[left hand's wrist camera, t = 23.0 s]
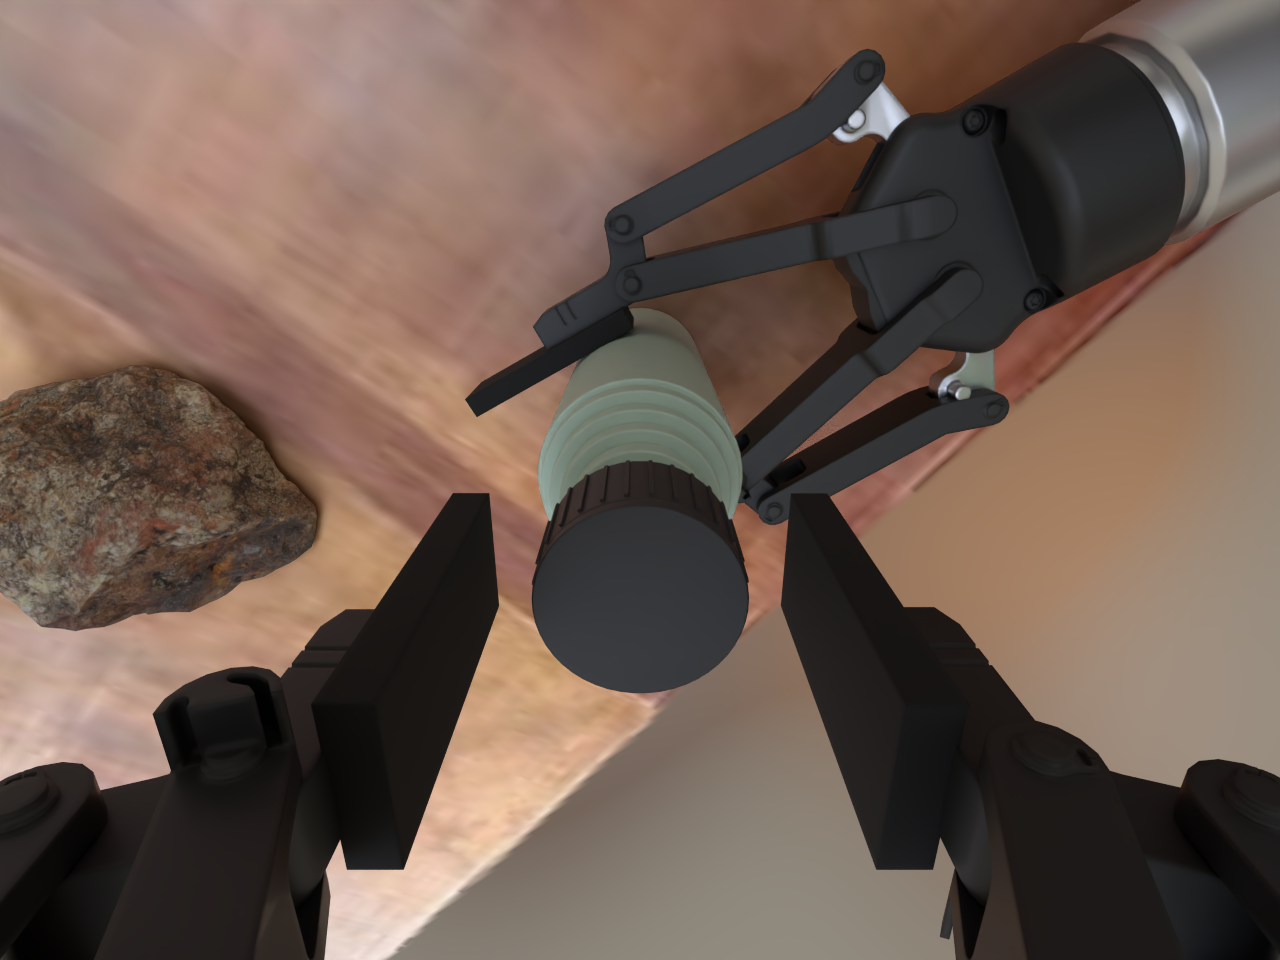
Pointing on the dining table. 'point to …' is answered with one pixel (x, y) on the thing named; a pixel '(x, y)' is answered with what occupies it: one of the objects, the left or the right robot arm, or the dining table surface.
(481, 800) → the dining table surface
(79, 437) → the rock
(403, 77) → the dining table surface
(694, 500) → the cap
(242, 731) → the left robot arm
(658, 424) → the bottle
